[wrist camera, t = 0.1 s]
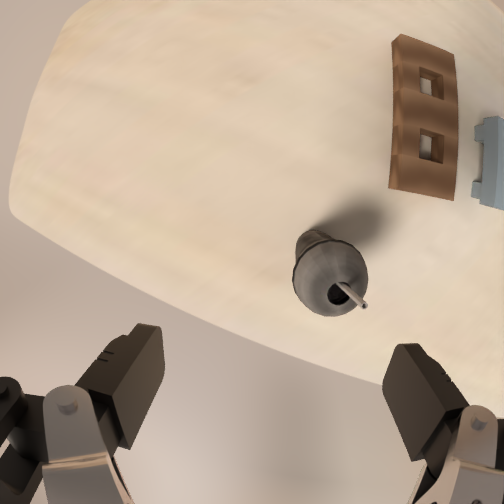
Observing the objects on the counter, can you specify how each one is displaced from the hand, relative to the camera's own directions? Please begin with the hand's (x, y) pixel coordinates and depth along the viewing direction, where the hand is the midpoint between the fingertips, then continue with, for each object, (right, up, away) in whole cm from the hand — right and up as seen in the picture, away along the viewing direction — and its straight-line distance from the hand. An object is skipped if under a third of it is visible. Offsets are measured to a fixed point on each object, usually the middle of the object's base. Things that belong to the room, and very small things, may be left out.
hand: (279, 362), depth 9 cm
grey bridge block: (+34, +17, +24) cm, 45 cm away
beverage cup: (+7, +4, +29) cm, 30 cm away
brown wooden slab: (+23, +22, +23) cm, 39 cm away
